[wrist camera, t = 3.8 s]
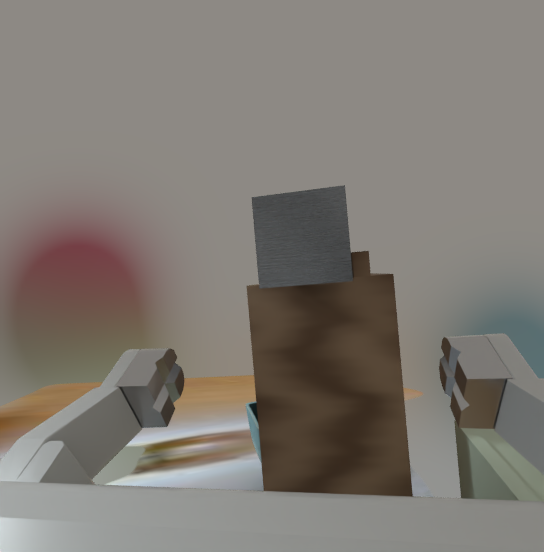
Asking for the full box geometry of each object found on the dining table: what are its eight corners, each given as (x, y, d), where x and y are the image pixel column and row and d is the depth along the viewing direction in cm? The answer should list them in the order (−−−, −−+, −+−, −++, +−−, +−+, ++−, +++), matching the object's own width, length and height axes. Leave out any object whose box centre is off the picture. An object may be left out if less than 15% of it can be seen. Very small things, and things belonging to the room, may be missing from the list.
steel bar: (352, 281, 12) (343, 166, 12) (259, 288, 13) (250, 179, 13) (342, 276, 32) (338, 231, 32) (304, 279, 33) (301, 235, 33)
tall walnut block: (280, 692, 22) (244, 262, 22) (299, 545, 34) (276, 266, 34) (431, 713, 20) (391, 248, 20) (395, 550, 32) (370, 257, 32)
